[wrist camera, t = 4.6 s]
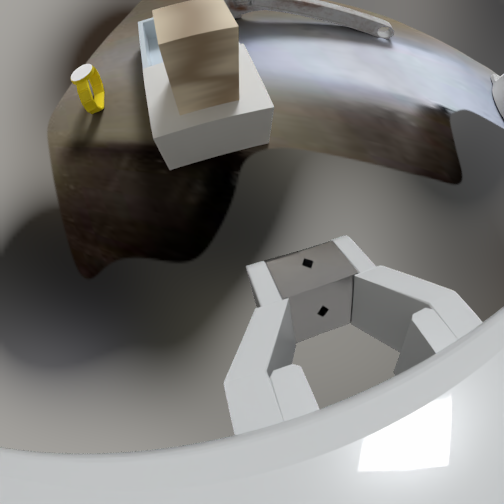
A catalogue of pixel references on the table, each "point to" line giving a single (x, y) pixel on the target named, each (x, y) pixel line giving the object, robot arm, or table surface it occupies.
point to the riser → (208, 118)
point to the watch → (81, 81)
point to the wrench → (315, 13)
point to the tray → (149, 43)
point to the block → (199, 53)
